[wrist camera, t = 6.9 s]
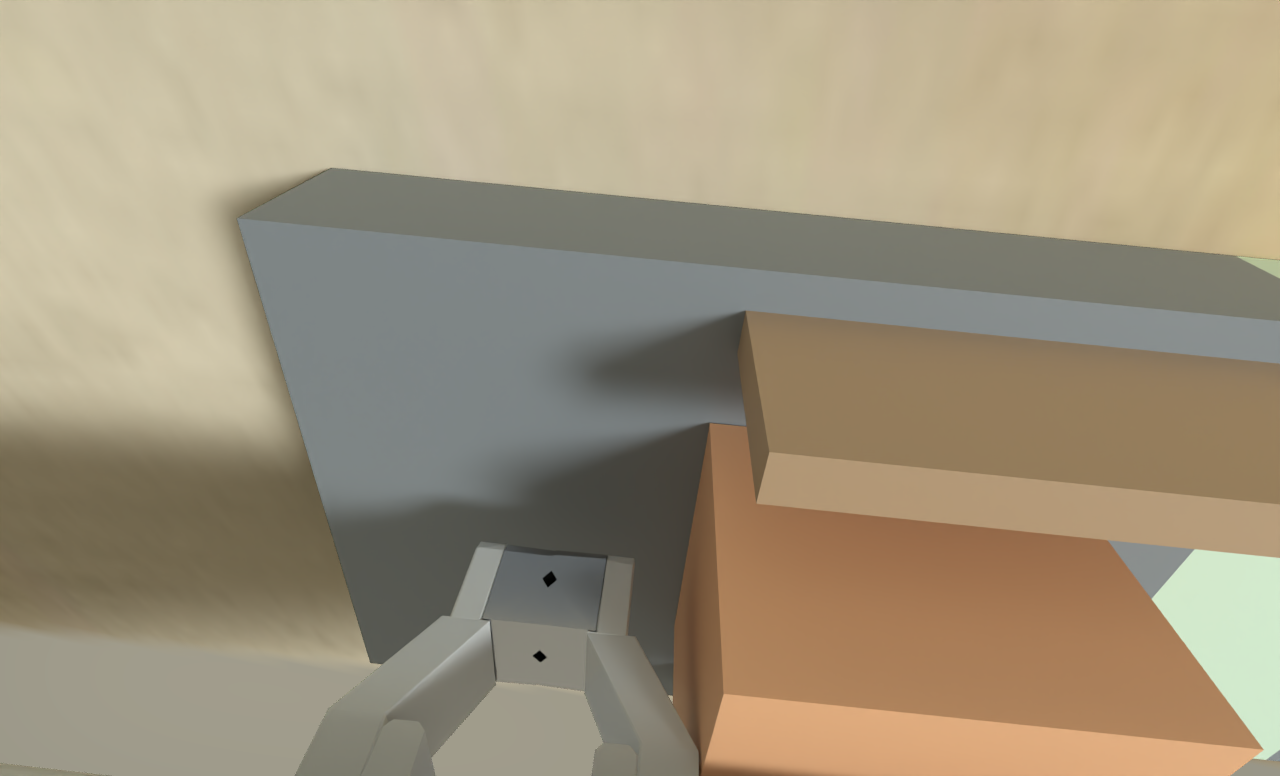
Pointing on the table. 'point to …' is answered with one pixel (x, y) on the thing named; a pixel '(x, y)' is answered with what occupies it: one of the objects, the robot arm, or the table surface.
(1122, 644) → the block
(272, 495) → the table surface
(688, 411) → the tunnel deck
